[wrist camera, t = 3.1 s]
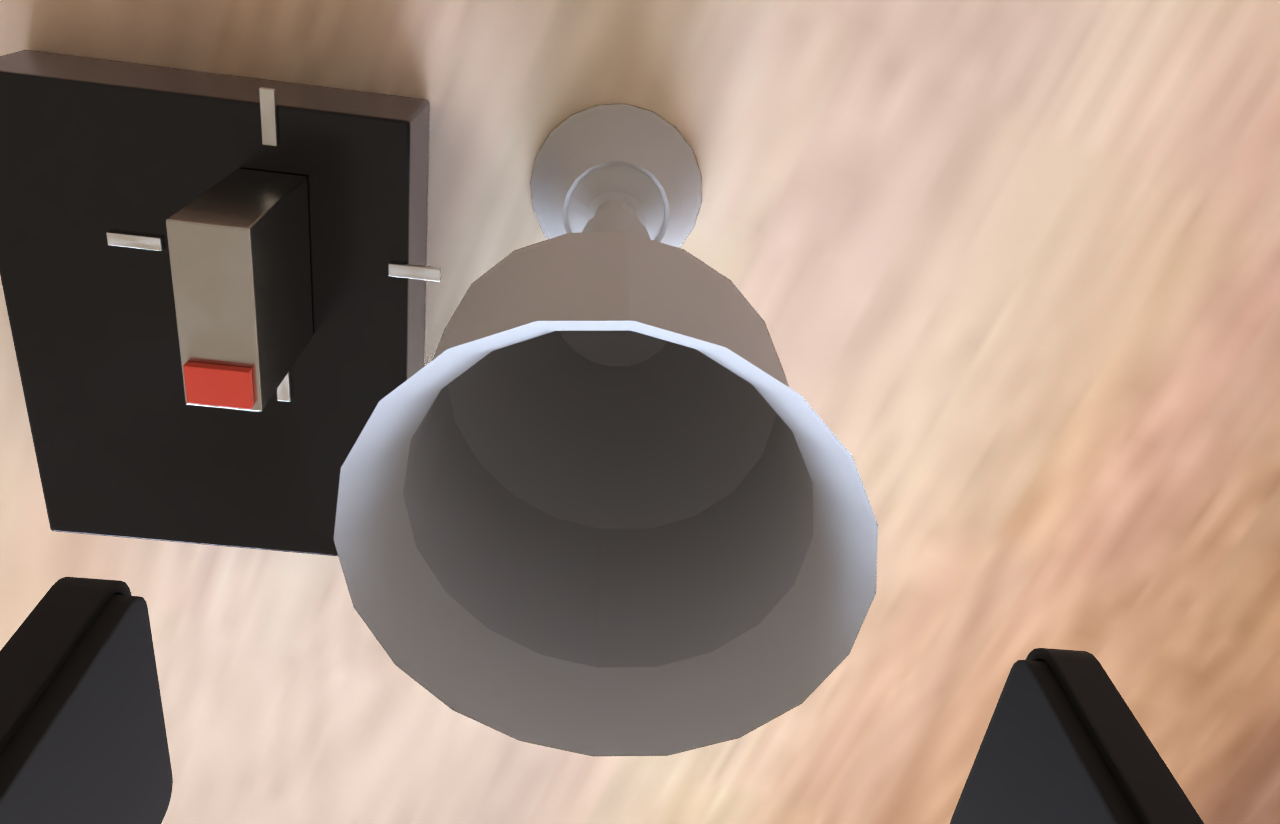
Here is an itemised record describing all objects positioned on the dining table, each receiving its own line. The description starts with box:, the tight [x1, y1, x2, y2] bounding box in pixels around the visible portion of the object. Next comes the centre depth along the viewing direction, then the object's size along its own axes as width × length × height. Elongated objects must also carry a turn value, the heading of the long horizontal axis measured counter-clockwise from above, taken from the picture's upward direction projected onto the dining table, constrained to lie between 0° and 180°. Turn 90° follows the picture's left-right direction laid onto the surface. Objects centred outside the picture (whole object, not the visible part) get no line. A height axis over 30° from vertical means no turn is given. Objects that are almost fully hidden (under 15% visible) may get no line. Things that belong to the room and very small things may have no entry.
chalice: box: [334, 104, 878, 756], centre depth 21 cm, size 7×7×18 cm
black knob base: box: [0, 50, 441, 556], centre depth 29 cm, size 14×12×3 cm
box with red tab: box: [166, 169, 313, 412], centre depth 24 cm, size 5×2×5 cm, turn 173°
